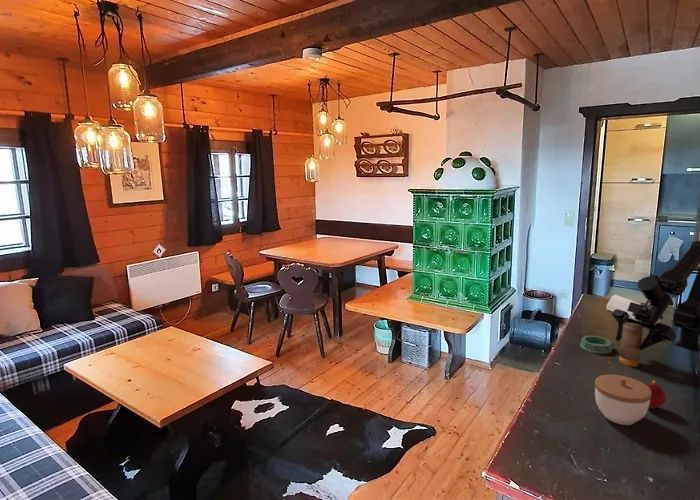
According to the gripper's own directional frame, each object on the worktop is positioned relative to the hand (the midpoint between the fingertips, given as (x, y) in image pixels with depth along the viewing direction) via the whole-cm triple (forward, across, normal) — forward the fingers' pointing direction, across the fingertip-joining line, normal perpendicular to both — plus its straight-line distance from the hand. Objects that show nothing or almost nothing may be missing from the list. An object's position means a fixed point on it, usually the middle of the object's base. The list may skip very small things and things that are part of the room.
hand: (628, 344), depth 145 cm
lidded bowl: (+26, +20, -16) cm, 37 cm away
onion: (+18, +21, -8) cm, 29 cm away
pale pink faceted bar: (-25, -28, +35) cm, 51 cm away
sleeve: (+4, 0, +6) cm, 7 cm away
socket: (+4, -13, +6) cm, 14 cm away
